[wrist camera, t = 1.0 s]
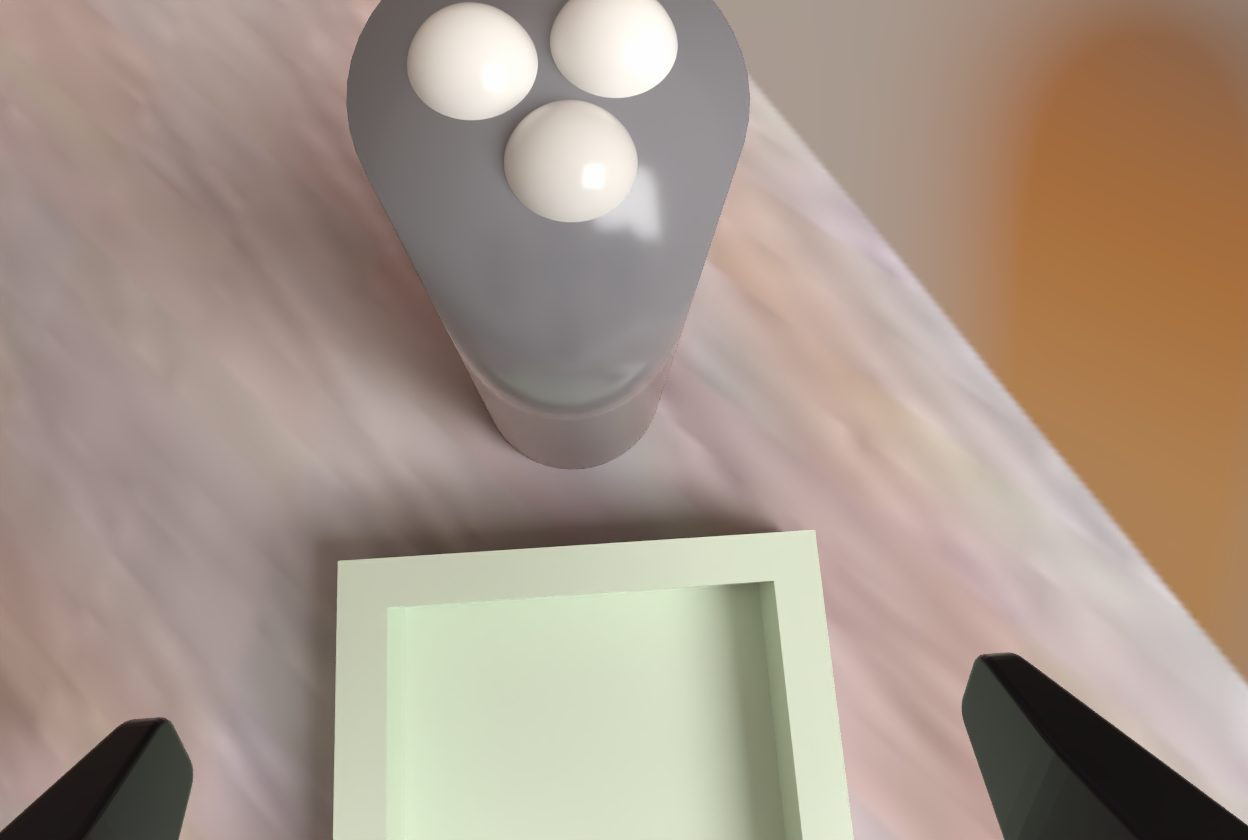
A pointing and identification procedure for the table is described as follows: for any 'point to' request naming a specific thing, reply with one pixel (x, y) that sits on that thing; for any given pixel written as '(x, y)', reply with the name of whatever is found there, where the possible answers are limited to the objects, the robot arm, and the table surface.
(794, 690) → the sage dish
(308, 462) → the table surface
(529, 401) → the grey can
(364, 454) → the table surface
